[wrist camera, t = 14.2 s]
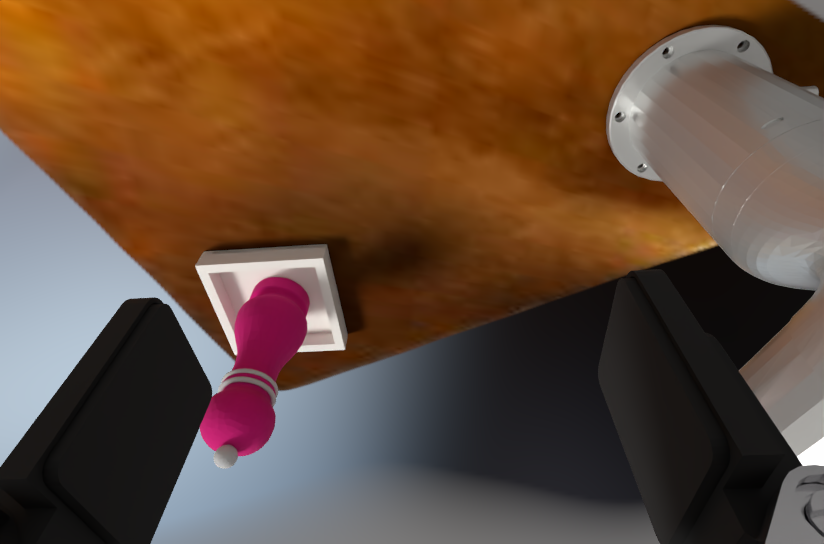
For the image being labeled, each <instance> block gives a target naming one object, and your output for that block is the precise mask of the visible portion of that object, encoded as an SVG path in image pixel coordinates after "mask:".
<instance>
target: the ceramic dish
mask: <svg viewBox="0 0 824 544" xmlns="http://www.w3.org/2000/svg"><path fill="white" fill-rule="evenodd" d="M195 267H196V269H197V271H198V274H199V276H200V278H201V280H202V282H203V285H204V287H205V289H206V291H207V294H208V296H209V298H210V300H211V303H212V305H213V307H214V309H215V312H216V314H217V316H218V318H219V321H220V323H221V325H222V327H223V329H224V332H225V334H226V336H227V338H228V341H229V343H230V345H231V347H232V350H233V352H234V354H235V355H237V345H236V341H235V334H234V327H235V321H236V317H237V314H238V311H239V310H240V308H241V307H242V305H243V304H244V303H245V302H247V301H248V300H249V299H250V296H251V294H252V292H253V289H254V287H255V286H256V285H257V284H258V283H259V282H260V281H262V280H264V279H267V278H270V277H282V278H287V279H290V280H292V281H295V282H296V283H298V284H299V285H301V286H302V287H303V288H304V290H305V291H306V292H307V294H308V296H309V301H310V305H309V309H308V313H307V316H306V320H307V327H308V328H307V334H306V336H305V339H304V342H303V344H302V345H301V347H300V348H299V350H298V351H297V352H308V351H329V350H345V347H346V341H347V335H348V333H347V329H346V325H345V320H344V316H343V312H342V307H341V303H340V299H339V294H338V290H337V286H336V281H335V277H334V273H333V268H332V264H331V260H330V255H329V251H328V247H327V244H318V245H302V246H285V247H269V248H253V249H237V250H220V251H204V252H203V254H202V256H201V257H200V259H199V260H198V262H197V264H196V265H195Z"/></svg>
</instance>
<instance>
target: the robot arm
mask: <svg viewBox="0 0 824 544" xmlns="http://www.w3.org/2000/svg"><path fill="white" fill-rule="evenodd" d="M739 43H740V44H739ZM738 45H739V46H738ZM665 48H667V50H666V52H664V53H663V51H664V49H665ZM818 95H819V91H818V88H817V87H816V86H804V87H799V86H797V85H795V84H793V83H791V82H789V81H787V80H785V79H783V78H781V77H779V76H776V75H774V74H773V69H772V65H771V61H770V58H769V56H768V54H767V52H766V50H765V49H764V47H763V46H762V45H761V44H760V43H759V42H758V41H757V40H756V39H755V38H754V37H752V36H750V35H748V34H747V33H745V32H743V31H741V30H738V29H735V28H732V27H729V26H721V25H703V26H696V27H692V28H689V29H685V30H681V31H679V32H677V33H675V34H673V35H670V36H668V37H666V38H664V39H663V40H661V41H660V42H658V43H657V44H655V45H654V46H652V47H651V48H649V49H648V50H647V51H646V52H645V53H644V54H642V55H641V56H640V57H639V58H638V59H637V60H636V61H635V62H634V63H633V64H632V66H631V67H630V68H629V69H628V70H627V72H626V73H625V74H624V75H623V77H622V79H621V80H620V82H619V84H618V85H617V87H616V89H615V91H614V94H613V96H612V98H611V101H610V103H609V108H608V113H607V118H606V132H607V137H608V142H609V145H610V147H611V149H612V151H613V154H614V155H615V156H616V158H617V159H618V160H619V162H620V163H621V164H622V165H623V166H624V167H625V168H626V169H627V170H628V171H630V172H632V173H633V174H635V175H637V176H639V177H642V178H646V179H649V180H655V181H663V182H664V183H665V184H666V185H667V186H668V188H669V189H670V190H671V191H672V192H673V193H674V194H675V196H676V197H677V198H678V199H679V200H680V201H681V202H682V204H683V205H684V206H685V207H686V208H687V209H688V210H689V212H690V213H691V214H692V215H693V216H694V217H695V218H696V220H697V221H698V222H699V223H700V224H701V225H702V226H703V228H704V229H705V230H706V231H707V232H708V233H709V234H710V236H711V237H712V238H713V239H714V240H715V241H716V242H717V244H718V245H719V246H720V247H721V248H722V249H723V250H724V251H725V252H726V254H728V256H729V257H730V258H731V259H732V260H733V261H734V262H735V263H736V264H737V265H738V266H739V267H741V268H742V269H743V270H745V271H746V272H748V273H749V274H751V275H753V276H755V277H757V278H759V279H762V280H764V281H767V282H769V283H773V284H776V285H781V286H786V287H791V288H797V289H807V290H816V292H815V293H814V295H813V296H812V297H811V298H810V300H809V301H808V302H807V303H806V304H805V305H804V306H803V307H802V308H801V309H800V310H799V311H798V312H797V313H796V314H795V315H794V316H793V317H792V319H791V320H790V322H789V323H788V324H787V325H786V326H785V327H784V328H783V329H782V330H781V331H780V332H779V333H778V334H777V335H776V336H775V337H773V338H772V339H771V340H770V342H768V343H767V344H766V345H765V346H764V347H763V348H762V349H761V350H760V351H759V352H758V353H757V354H756V355H755V356H754V357H753V358H752V359H751V360H750V361H749V362H748V363H747V364H746V365H745V366H743V367H742V368H741V369H740V370H739V371H738V370H737V368H736V366H735V365H734V364H733V362H732V361H731V359H730V358H729V356H728V355H727V353H726V352H725V350H724V349H723V348H722V346H721V345H720V343H719V342H718V341H717V340H716V338H714V336H712V335H710V334H708V333H704V331H703V329H702V328H701V326H700V325H699V323H698V322H697V320H696V319H695V317H694V316H693V314H692V313H691V311H690V310H689V308H688V307H687V305H686V304H685V302H684V301H683V299H682V298H681V296H680V295H679V293H678V292H677V290H676V289H675V287H674V286H673V284H672V283H671V281H670V280H669V278H668V277H667V275H666V274H665V273H664V271H662V270H660V269H657V270H639V271H630V272H629V273H628V274H627V277H626V278H625V279H620V280H619V281H618V284H617V288H616V292H615V297H614V301H613V306H612V310H611V315H610V319H609V323H608V327H607V332H606V336H605V341H604V345H603V349H602V354H601V359H600V363H599V367H598V377H599V383H600V386H601V389H602V391H603V394H604V397H605V399H606V402H607V405H608V407H609V410H610V413H611V415H612V418H613V421H614V424H615V426H616V429H617V432H618V434H619V437H620V440H621V442H622V445H623V448H624V450H625V453H626V456H627V458H628V461H629V464H630V467H631V469H632V472H633V475H634V477H635V480H636V483H637V485H638V488H639V491H640V493H641V496H642V499H643V501H644V504H645V507H646V509H647V512H648V515H649V517H650V520H651V523H652V525H653V528H654V531H655V534H656V536H657V538H658V541H659V542H660V544H824V98H822V97H820V96H818ZM619 112H620V113H619ZM617 113H619V115H618V116H616V114H617ZM640 164H641V165H640ZM211 397H212V388H211V385H210V382H209V380H208V379H207V376H206V375H205V373H204V371H203V369H202V367H201V365H200V363H199V361H198V359H197V357H196V355H195V354H194V352H193V350H192V348H191V346H190V344H189V342H188V340H187V338H186V336H185V334H184V332H183V330H182V328H181V326H180V325H179V323H178V321H177V319H176V317H175V315H174V313H173V311H172V309H171V308H170V306H169V305H167V304H163V302H162V301H161V300H160V299H158V298H138V299H129V300H126V301H125V302H124V303H123V304H122V305H121V306H120V308H119V309H118V310H117V312H116V313H115V314H114V316H113V317H112V318H111V320H110V321H109V323H108V324H107V325H106V327H105V328H104V329H103V330H102V332H101V333H100V334H99V336H98V337H97V339H96V340H95V341H94V343H93V344H92V345H91V347H90V348H89V349H88V351H87V352H86V353H85V355H84V356H83V357H82V359H81V360H80V361H79V363H78V364H77V365H76V367H75V368H74V369H73V371H72V372H71V373H70V375H69V376H68V378H67V379H66V380H65V381H64V383H63V384H62V385H61V387H60V388H59V389H58V391H57V392H56V393H55V395H54V396H53V397H52V399H51V400H50V401H49V403H48V404H47V405H46V407H45V408H44V410H43V411H42V412H41V414H40V415H39V416H38V417H37V419H36V420H35V421H34V423H33V424H32V425H31V427H30V428H29V429H28V431H27V432H26V434H25V435H24V436H23V438H22V439H21V440H20V442H19V443H18V445H17V446H16V447H15V448H14V450H13V451H12V452H11V454H10V455H9V456H8V458H7V459H6V460H5V462H4V463H3V464H2V466H1V467H0V544H150V543H151V541H152V538H153V536H154V534H155V531H156V529H157V527H158V524H159V522H160V519H161V517H162V515H163V512H164V510H165V508H166V505H167V503H168V500H169V498H170V496H171V494H172V491H173V488H174V486H175V484H176V482H177V479H178V477H179V475H180V472H181V470H182V468H183V465H184V463H185V460H186V458H187V456H188V453H189V451H190V449H191V446H192V444H193V442H194V439H195V437H196V434H197V432H198V429H199V427H200V425H201V423H202V420H203V418H204V416H205V413H206V411H207V409H208V406H209V404H210V401H211Z"/></svg>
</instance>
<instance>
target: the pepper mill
mask: <svg viewBox="0 0 824 544" xmlns="http://www.w3.org/2000/svg"><path fill="white" fill-rule="evenodd" d="M309 305H310V301H309V296H308V294H307V292H306V291H305V290H304V288H303V287H302V286H301V285H299V284H298V283H296V282H295V281H292V280H290V279H287V278H282V277H270V278H267V279H264V280H262V281H260V282H259V283H258V284H257V285H256V286H255V287H254V289H253V292H252V294H251V296H250V299H249V300H248V301H247V302H245V303H244V304H243V305H242V307H241V308H240V310H239V311H238V314H237V317H236V321H235V327H234V334H235V341H236V345H237V358H236V362H235V365H234V367H233V369H232V371H230V372H228V373H227V374H226V375H225V376H224V377H223V379H222V383H221V385H220V386H219V389H218V393H217V394H215V395H214V396H213V397H211V401H210V404H209V406H208V409H207V411H206V413H205V416H204V418H203V420H202V423H201V425H200V431H201V435H202V437H203V439H204V441H205V442H206V444H207V445H208V446H209V447H210V448H212V449H213V450H214V451H216V452H215V454H214V462H215V464H216V465H217V466H218V467H219V468H224V469H225V468H229V467H231V466H233V465H234V463H235V462H236V460H237V458H238V456H246V455H249V454H252V453H254V452H255V451H258V450H259V449H260V448H262V447H263V446H264V444H265V443H266V442H267V441H268V440H269V438H270V436H271V434H272V432H273V430H274V426H275V412H274V409H273V406H274V404H275V402H276V397H277V395H278V387H277V384H276V379H277V376H278V374H279V372H280V370H281V369H282V367H283V366H284V365H285V364H286V363H287V362H288V361H289V360H290V359H291V358H292V357H293V356H294V355H295V353H296V352H297V351H298V350H299V348H300V347H301V345H302V344H303V342H304V339H305V336H306V334H307V328H308V327H307V320H306V316H307V313H308V309H309Z"/></svg>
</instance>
